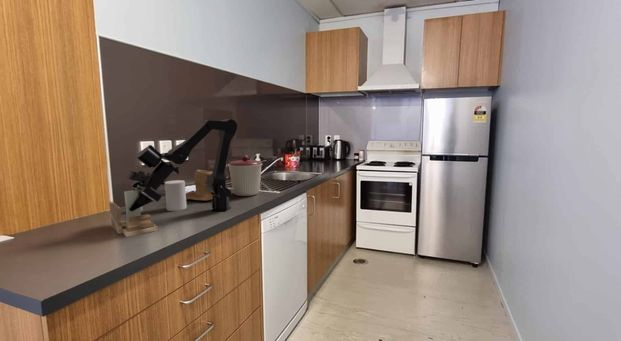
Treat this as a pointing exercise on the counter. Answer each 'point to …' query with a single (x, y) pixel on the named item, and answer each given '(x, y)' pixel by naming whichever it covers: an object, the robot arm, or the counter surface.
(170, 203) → the cup
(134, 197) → the pale green upright block
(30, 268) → the counter surface
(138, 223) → the offcut stack
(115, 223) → the rack
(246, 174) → the canister
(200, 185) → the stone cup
